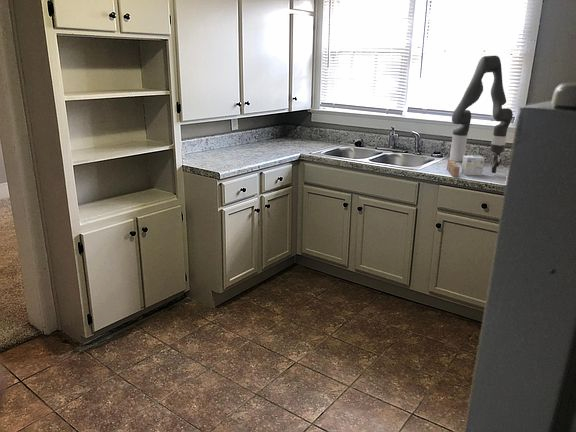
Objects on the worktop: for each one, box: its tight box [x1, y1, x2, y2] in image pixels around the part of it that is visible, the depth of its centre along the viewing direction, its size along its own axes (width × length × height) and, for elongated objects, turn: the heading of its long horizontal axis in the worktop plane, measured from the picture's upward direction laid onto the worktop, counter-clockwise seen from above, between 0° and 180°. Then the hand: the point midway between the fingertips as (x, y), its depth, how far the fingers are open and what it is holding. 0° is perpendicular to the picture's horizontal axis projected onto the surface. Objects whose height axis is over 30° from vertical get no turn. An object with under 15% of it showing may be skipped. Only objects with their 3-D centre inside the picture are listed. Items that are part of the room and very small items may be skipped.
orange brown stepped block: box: [446, 159, 461, 178], centre depth 285 cm, size 20×3×6 cm, turn 173°
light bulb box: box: [460, 155, 485, 176], centre depth 283 cm, size 11×7×11 cm, turn 92°
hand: (493, 172), depth 283 cm, fingers closed
